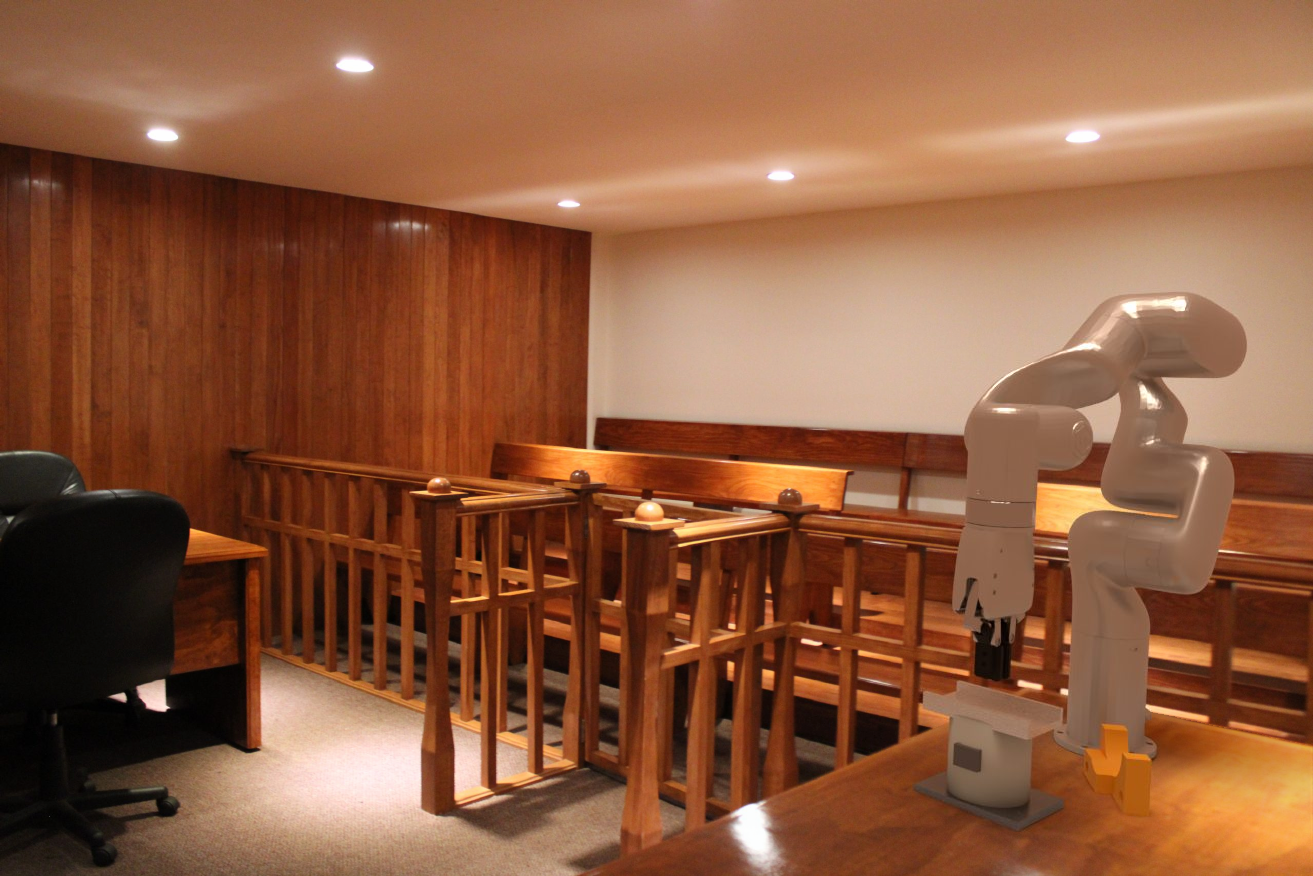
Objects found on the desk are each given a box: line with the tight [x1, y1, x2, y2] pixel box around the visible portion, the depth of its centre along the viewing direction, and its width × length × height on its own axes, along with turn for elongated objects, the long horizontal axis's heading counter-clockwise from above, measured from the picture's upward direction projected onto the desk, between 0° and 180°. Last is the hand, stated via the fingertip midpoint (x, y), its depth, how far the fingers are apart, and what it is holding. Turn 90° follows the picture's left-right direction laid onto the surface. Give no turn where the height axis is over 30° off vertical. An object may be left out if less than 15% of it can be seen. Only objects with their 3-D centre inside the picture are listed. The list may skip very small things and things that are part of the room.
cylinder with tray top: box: [912, 680, 1065, 832], centre depth 115 cm, size 10×13×12 cm
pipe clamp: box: [1083, 724, 1152, 817], centre depth 118 cm, size 12×4×6 cm, turn 169°
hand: (991, 676), depth 115 cm, fingers closed
